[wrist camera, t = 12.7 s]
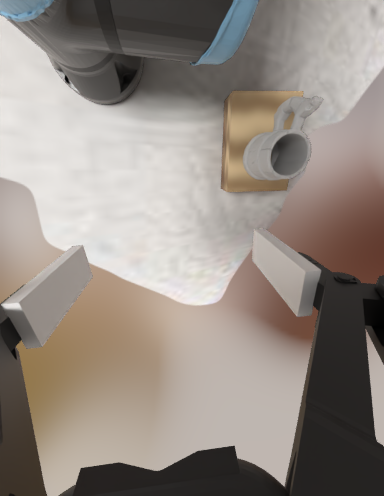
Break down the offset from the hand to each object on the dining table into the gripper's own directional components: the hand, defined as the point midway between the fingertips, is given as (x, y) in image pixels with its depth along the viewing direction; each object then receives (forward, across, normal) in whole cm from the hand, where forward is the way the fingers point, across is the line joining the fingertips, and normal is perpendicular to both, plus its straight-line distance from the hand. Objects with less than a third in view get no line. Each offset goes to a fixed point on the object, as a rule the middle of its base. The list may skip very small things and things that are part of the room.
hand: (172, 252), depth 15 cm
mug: (+25, +17, +8) cm, 32 cm away
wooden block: (+31, +17, +8) cm, 36 cm away
